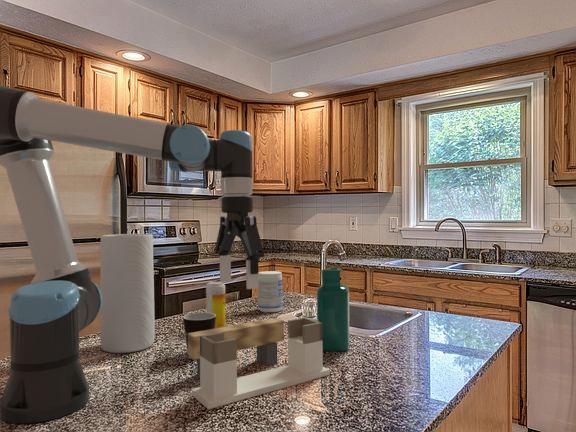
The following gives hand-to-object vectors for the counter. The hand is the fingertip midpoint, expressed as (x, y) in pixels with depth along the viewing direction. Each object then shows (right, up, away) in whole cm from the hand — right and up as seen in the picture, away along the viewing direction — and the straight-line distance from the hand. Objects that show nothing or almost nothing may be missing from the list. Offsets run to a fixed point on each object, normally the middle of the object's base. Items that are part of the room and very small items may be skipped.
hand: (238, 284), depth 103 cm
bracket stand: (+7, -20, -10) cm, 23 cm away
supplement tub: (+5, -20, +63) cm, 66 cm away
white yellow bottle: (-11, -20, +36) cm, 43 cm away
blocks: (0, -20, 0) cm, 20 cm away
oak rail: (0, -15, 0) cm, 15 cm away
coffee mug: (-11, -20, +13) cm, 26 cm away
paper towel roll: (-33, -21, +18) cm, 43 cm away
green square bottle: (+25, -20, +16) cm, 35 cm away
